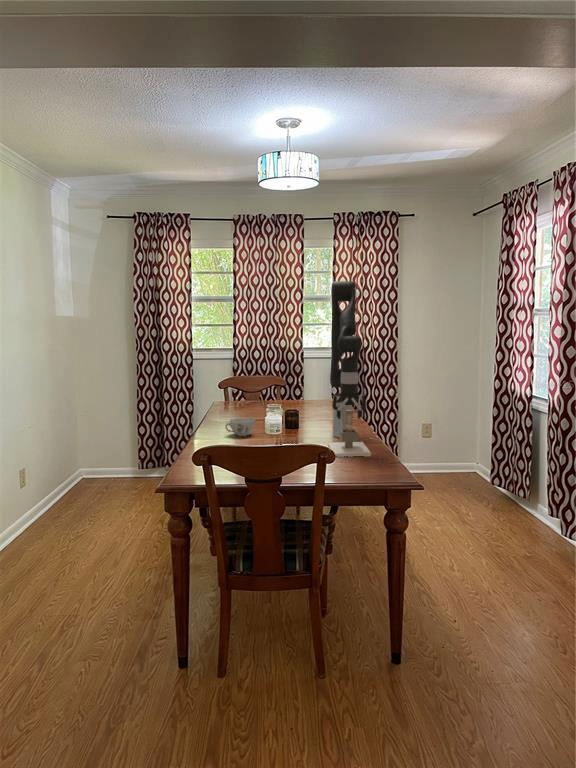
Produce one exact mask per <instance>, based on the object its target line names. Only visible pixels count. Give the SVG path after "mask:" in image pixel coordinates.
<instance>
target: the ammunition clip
mask: <svg viewBox="0 0 576 768" xmlns="http://www.w3.org/2000/svg"><path fill="white" fill-rule="evenodd" d="M283 444H286V445H287V444H290V445H291V444H294V445H295V444H298V445H299V439H298V436H297V435H296V436H295V439H294V436H292V437H291V439H290V437H289V436H288V437H287V439H286V437H284V438H283V439H282V437H280V438H279V440H278V438H276V439H275V444H274V446H275V445H278V446H279V445H282V446H283Z"/></svg>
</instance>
